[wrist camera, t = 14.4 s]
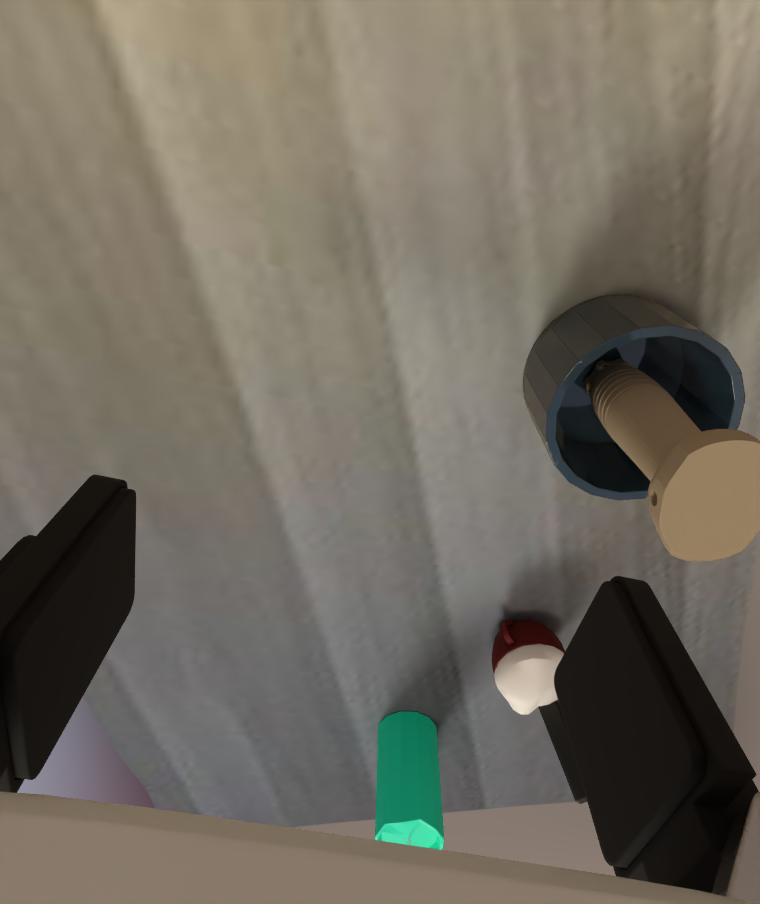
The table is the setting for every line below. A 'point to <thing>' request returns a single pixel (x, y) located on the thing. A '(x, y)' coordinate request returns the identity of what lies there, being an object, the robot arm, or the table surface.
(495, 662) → the cocoa
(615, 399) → the handle
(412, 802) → the candle
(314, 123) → the table surface
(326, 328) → the table surface
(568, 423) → the crock
